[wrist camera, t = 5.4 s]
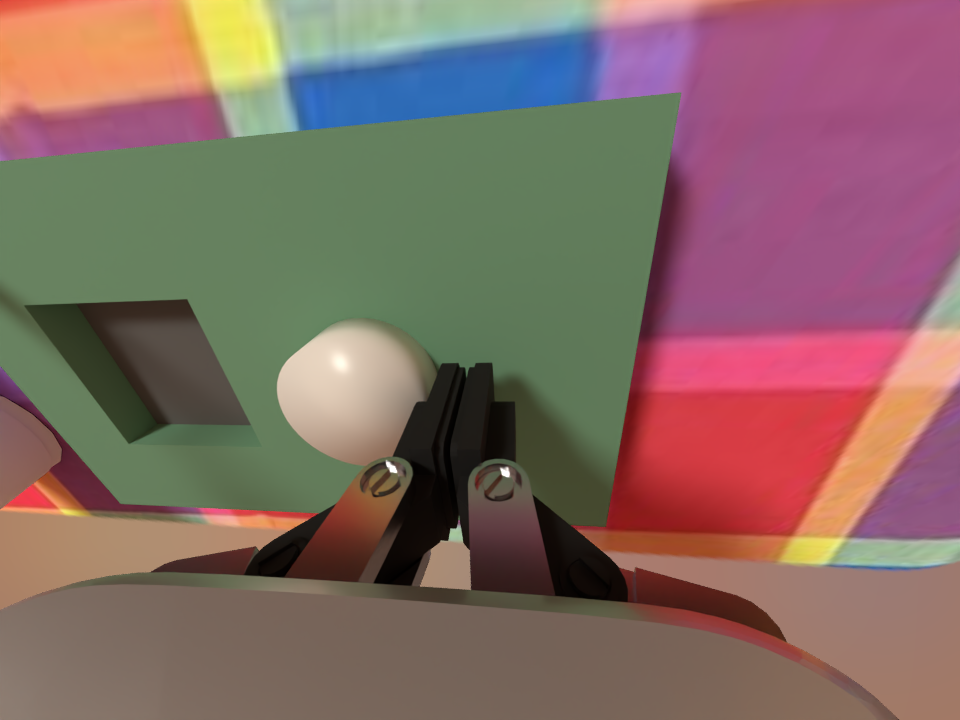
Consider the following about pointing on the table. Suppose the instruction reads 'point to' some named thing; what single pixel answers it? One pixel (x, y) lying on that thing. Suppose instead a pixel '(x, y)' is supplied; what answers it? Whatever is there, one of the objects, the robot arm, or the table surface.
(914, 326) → the table surface
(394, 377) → the cream rounded stone
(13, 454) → the foam cup
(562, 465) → the putting mat
